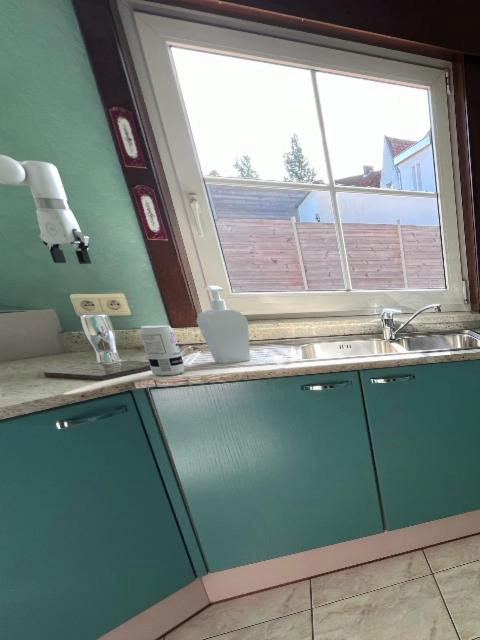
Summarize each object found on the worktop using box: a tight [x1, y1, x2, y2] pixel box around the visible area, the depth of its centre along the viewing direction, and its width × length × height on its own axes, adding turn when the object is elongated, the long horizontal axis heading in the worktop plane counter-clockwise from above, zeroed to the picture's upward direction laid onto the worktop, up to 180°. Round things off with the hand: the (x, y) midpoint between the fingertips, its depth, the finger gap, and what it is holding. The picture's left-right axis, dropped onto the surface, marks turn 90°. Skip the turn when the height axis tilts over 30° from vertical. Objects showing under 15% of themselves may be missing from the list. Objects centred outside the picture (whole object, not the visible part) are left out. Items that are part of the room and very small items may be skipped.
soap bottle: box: [196, 285, 251, 365], centre depth 173 cm, size 12×10×26 cm
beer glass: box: [79, 313, 123, 363], centre depth 161 cm, size 7×7×15 cm
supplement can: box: [139, 324, 186, 376], centre depth 155 cm, size 8×8×15 cm
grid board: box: [43, 359, 152, 381], centre depth 158 cm, size 20×20×2 cm
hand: (72, 263), depth 162 cm, fingers open, 9 cm apart
